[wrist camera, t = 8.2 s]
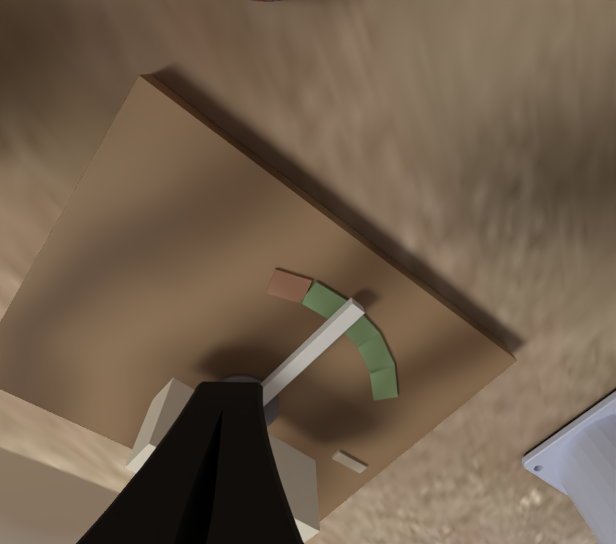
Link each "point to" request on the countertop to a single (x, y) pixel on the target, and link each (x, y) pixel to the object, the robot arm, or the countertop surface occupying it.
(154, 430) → the tuning key
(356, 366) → the brown dial board
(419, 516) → the countertop surface
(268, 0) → the soda can
